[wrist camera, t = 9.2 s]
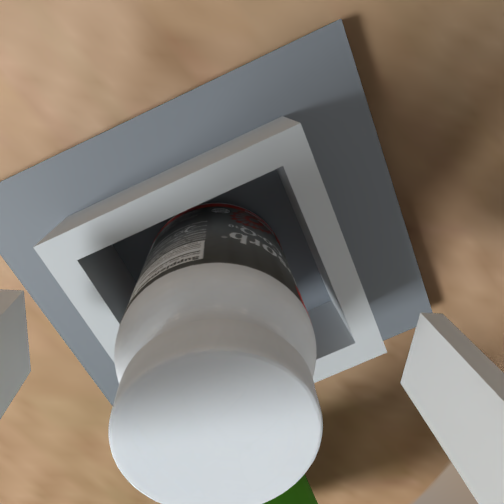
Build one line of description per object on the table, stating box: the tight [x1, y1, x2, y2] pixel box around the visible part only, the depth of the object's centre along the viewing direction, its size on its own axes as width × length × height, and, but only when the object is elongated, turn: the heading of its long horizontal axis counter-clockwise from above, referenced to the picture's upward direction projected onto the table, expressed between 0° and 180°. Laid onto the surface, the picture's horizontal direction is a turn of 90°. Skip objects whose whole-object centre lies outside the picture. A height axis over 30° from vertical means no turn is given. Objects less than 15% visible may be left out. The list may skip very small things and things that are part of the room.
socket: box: [0, 19, 432, 406], centre depth 17 cm, size 16×14×4 cm
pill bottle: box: [109, 203, 323, 504], centre depth 14 cm, size 6×6×10 cm
